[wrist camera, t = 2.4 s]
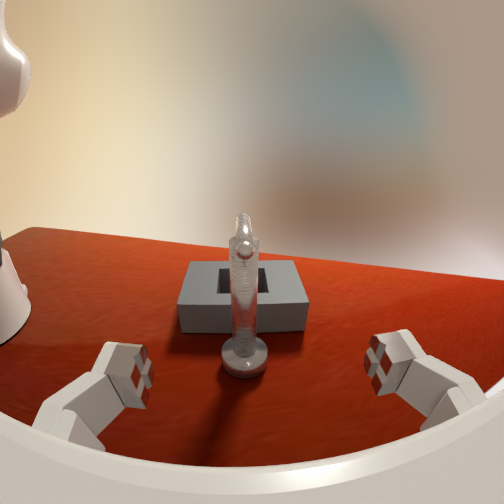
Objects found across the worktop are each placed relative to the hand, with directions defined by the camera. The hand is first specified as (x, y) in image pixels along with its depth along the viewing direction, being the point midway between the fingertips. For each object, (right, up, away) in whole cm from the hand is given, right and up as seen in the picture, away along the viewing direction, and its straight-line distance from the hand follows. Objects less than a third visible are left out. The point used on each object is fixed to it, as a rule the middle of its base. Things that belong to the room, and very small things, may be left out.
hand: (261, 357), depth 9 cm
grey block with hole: (-2, -3, +25) cm, 26 cm away
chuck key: (-1, -7, +17) cm, 18 cm away
